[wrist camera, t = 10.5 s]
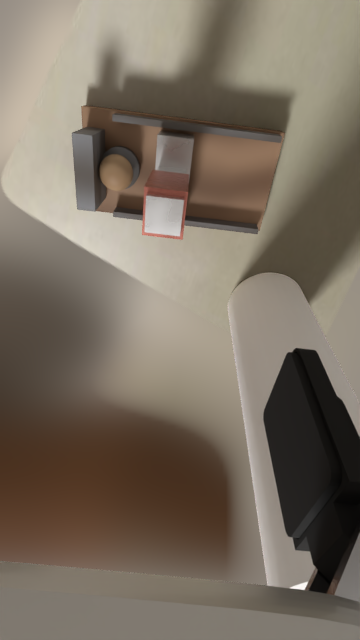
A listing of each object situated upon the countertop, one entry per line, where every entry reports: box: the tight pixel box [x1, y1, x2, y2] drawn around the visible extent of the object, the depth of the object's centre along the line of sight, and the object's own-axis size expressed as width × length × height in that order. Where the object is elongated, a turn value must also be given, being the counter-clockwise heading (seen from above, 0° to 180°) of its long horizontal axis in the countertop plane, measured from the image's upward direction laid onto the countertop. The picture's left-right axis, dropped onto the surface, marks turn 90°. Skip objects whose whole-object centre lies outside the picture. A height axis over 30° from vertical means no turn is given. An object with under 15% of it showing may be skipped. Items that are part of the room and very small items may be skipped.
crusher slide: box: [142, 130, 194, 239], centre depth 26 cm, size 7×3×12 cm, turn 174°
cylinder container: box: [228, 272, 360, 590], centre depth 30 cm, size 9×9×30 cm
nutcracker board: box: [72, 105, 285, 234], centre depth 30 cm, size 9×18×6 cm, turn 84°
